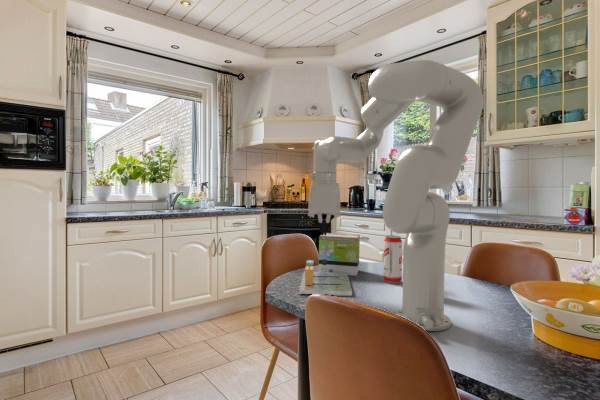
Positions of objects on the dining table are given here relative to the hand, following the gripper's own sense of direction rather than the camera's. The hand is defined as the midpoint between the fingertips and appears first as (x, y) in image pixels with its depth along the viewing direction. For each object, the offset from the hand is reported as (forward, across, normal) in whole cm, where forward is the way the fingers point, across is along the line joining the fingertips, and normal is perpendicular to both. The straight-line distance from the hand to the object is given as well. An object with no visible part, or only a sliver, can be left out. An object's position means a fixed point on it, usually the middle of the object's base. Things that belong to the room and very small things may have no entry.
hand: (323, 234), depth 113 cm
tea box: (+18, +6, +23) cm, 29 cm away
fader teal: (+16, -5, +9) cm, 19 cm away
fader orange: (+16, -5, -1) cm, 16 cm away
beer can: (+18, +24, +10) cm, 31 cm away
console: (+18, +1, +4) cm, 18 cm away
